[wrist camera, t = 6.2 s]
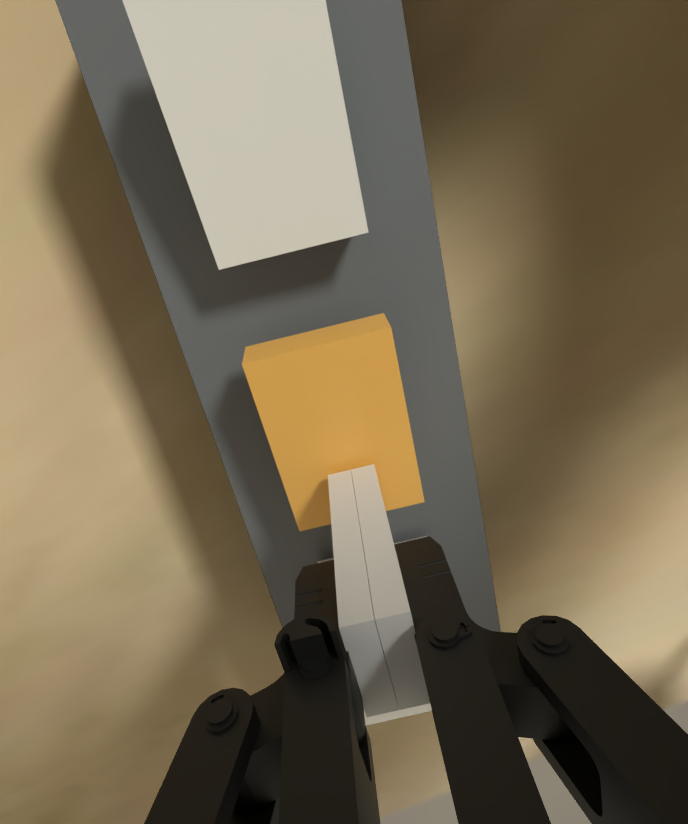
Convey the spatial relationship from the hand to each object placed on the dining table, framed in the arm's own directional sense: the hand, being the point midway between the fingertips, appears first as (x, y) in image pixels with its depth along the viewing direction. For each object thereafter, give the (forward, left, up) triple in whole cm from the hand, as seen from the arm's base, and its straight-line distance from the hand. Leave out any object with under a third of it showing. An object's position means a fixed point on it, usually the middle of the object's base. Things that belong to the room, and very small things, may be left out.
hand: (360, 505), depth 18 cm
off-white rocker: (-12, 0, -1) cm, 12 cm away
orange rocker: (-3, 0, -1) cm, 3 cm away
